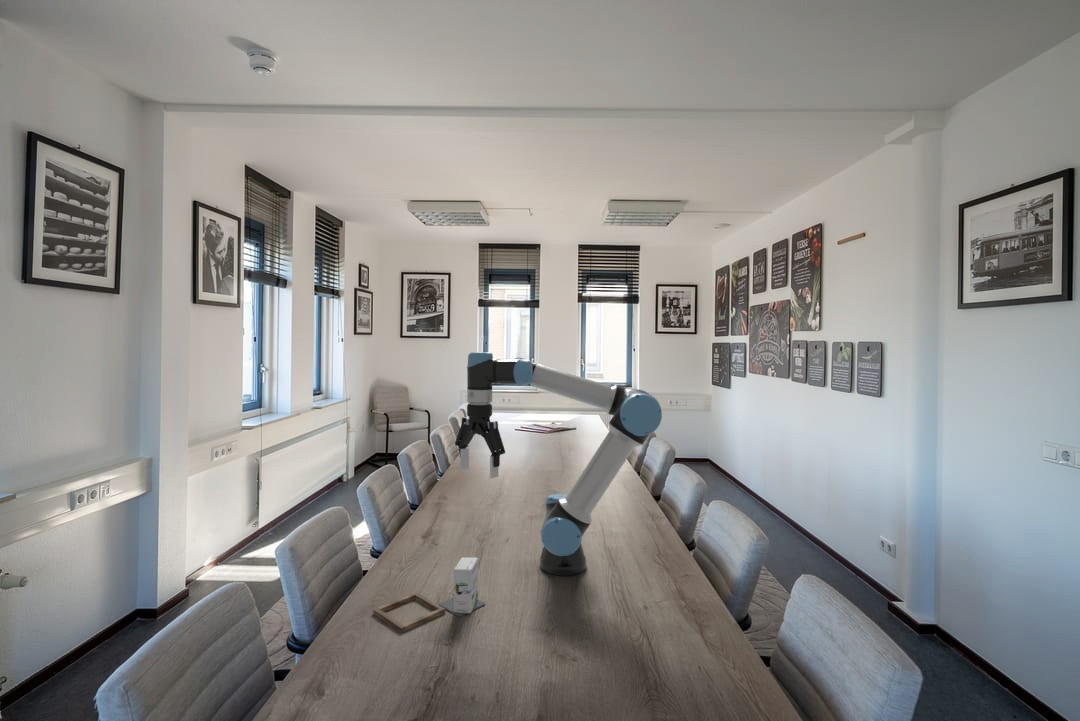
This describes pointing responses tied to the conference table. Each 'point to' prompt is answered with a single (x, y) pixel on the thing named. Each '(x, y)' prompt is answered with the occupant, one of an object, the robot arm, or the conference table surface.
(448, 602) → the felt mat
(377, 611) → the walnut holder
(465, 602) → the ink box
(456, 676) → the conference table surface
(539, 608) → the conference table surface
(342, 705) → the conference table surface
